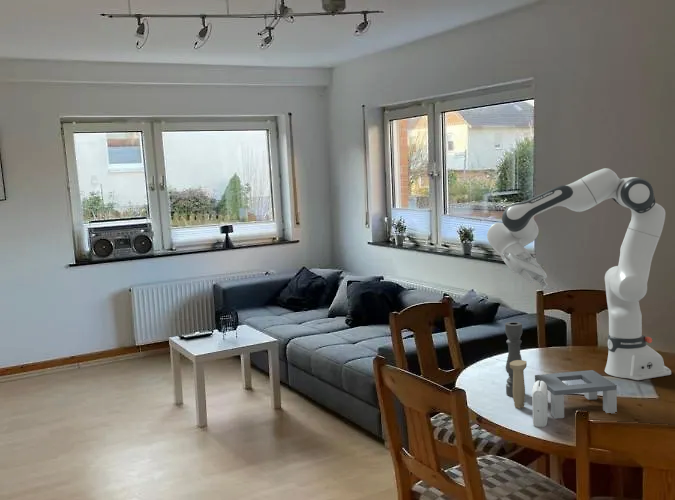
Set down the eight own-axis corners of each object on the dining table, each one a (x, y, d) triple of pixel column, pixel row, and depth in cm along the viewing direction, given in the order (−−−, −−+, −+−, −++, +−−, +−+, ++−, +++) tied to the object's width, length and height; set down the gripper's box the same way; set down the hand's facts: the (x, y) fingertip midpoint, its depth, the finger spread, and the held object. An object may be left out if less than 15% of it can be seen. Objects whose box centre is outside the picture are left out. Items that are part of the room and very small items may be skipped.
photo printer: (546, 428, 201) (546, 388, 200) (532, 427, 203) (531, 387, 201) (548, 415, 211) (547, 377, 209) (534, 414, 212) (533, 377, 211)
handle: (530, 405, 220) (529, 361, 218) (521, 411, 215) (520, 366, 213) (516, 402, 223) (515, 359, 221) (508, 408, 218) (506, 364, 216)
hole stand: (593, 395, 225) (592, 370, 224) (616, 413, 209) (616, 385, 208) (535, 401, 224) (534, 375, 223) (554, 418, 208) (554, 390, 207)
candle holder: (525, 397, 228) (523, 325, 224) (506, 397, 229) (504, 326, 226) (524, 391, 234) (522, 321, 231) (505, 391, 235) (503, 321, 232)
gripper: (507, 244, 236) (529, 271, 227) (537, 257, 249) (559, 283, 240) (494, 257, 238) (516, 284, 229) (525, 269, 251) (546, 295, 243)
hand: (538, 284), depth 235 cm, fingers open, 8 cm apart
